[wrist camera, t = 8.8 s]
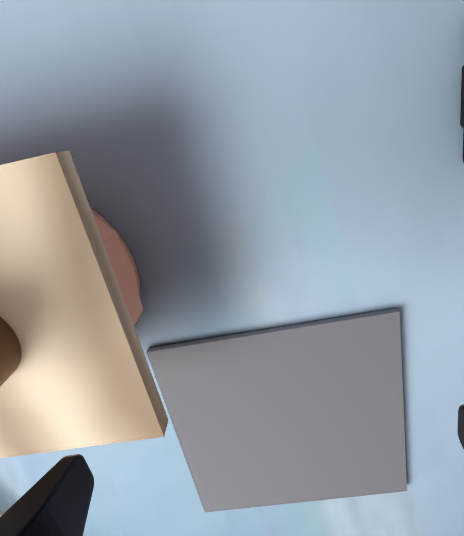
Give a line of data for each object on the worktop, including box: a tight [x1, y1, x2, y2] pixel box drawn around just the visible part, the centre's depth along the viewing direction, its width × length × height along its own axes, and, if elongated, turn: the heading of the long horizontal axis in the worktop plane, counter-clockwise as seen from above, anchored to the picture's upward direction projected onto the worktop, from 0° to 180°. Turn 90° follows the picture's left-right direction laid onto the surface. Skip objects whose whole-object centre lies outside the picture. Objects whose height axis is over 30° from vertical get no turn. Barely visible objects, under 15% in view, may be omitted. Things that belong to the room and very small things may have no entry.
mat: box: [147, 308, 407, 512], centre depth 24 cm, size 15×15×1 cm
